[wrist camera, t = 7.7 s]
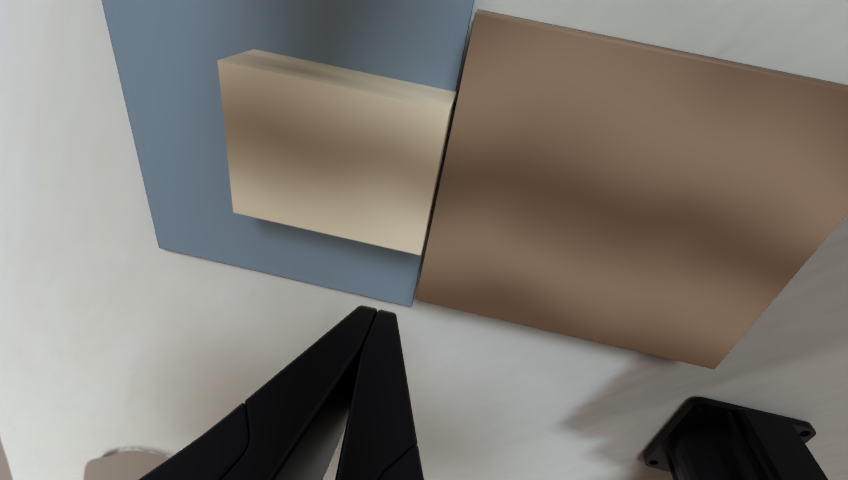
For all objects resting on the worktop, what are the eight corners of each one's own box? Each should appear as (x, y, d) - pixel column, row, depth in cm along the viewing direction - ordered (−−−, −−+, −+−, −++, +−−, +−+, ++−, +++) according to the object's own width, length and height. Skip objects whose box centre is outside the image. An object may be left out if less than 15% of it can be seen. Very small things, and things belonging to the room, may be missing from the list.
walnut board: (697, 337, 21) (714, 369, 19) (422, 273, 21) (415, 299, 20) (884, 92, 14) (936, 108, 12) (478, 9, 15) (475, 13, 13)
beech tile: (429, 224, 19) (420, 255, 17) (261, 186, 19) (233, 212, 17) (456, 91, 16) (449, 110, 14) (253, 49, 16) (217, 60, 14)
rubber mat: (412, 301, 22) (411, 306, 22) (164, 243, 23) (159, 247, 23) (486, -62, 13) (486, -63, 13) (78, -143, 14) (67, -146, 14)
